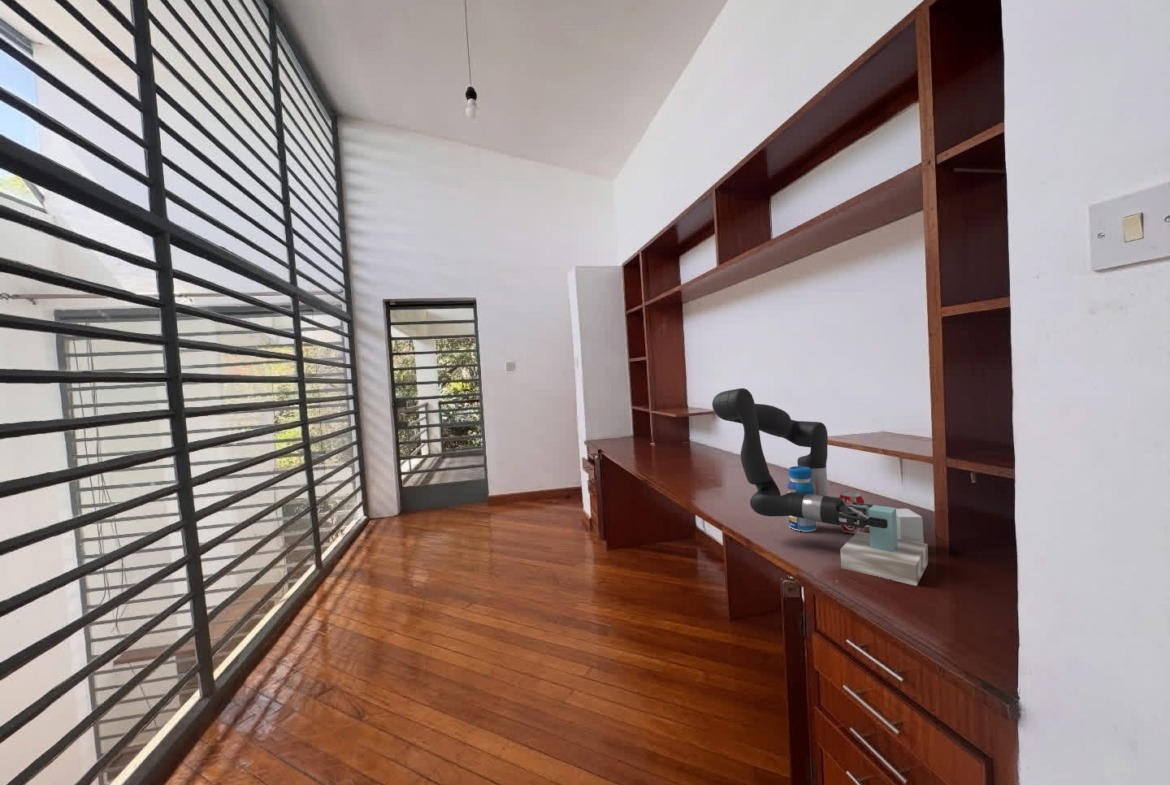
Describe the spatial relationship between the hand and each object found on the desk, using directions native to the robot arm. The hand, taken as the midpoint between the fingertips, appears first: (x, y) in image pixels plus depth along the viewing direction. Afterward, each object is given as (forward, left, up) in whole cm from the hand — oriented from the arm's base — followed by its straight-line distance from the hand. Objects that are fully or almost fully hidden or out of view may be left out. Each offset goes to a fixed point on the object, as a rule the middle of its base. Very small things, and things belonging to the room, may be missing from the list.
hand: (891, 519), depth 113 cm
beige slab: (0, -2, -12) cm, 13 cm away
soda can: (-22, -15, -13) cm, 29 cm away
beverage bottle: (-16, -28, -13) cm, 35 cm away
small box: (-15, 0, -13) cm, 20 cm away
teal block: (0, -2, -8) cm, 8 cm away
